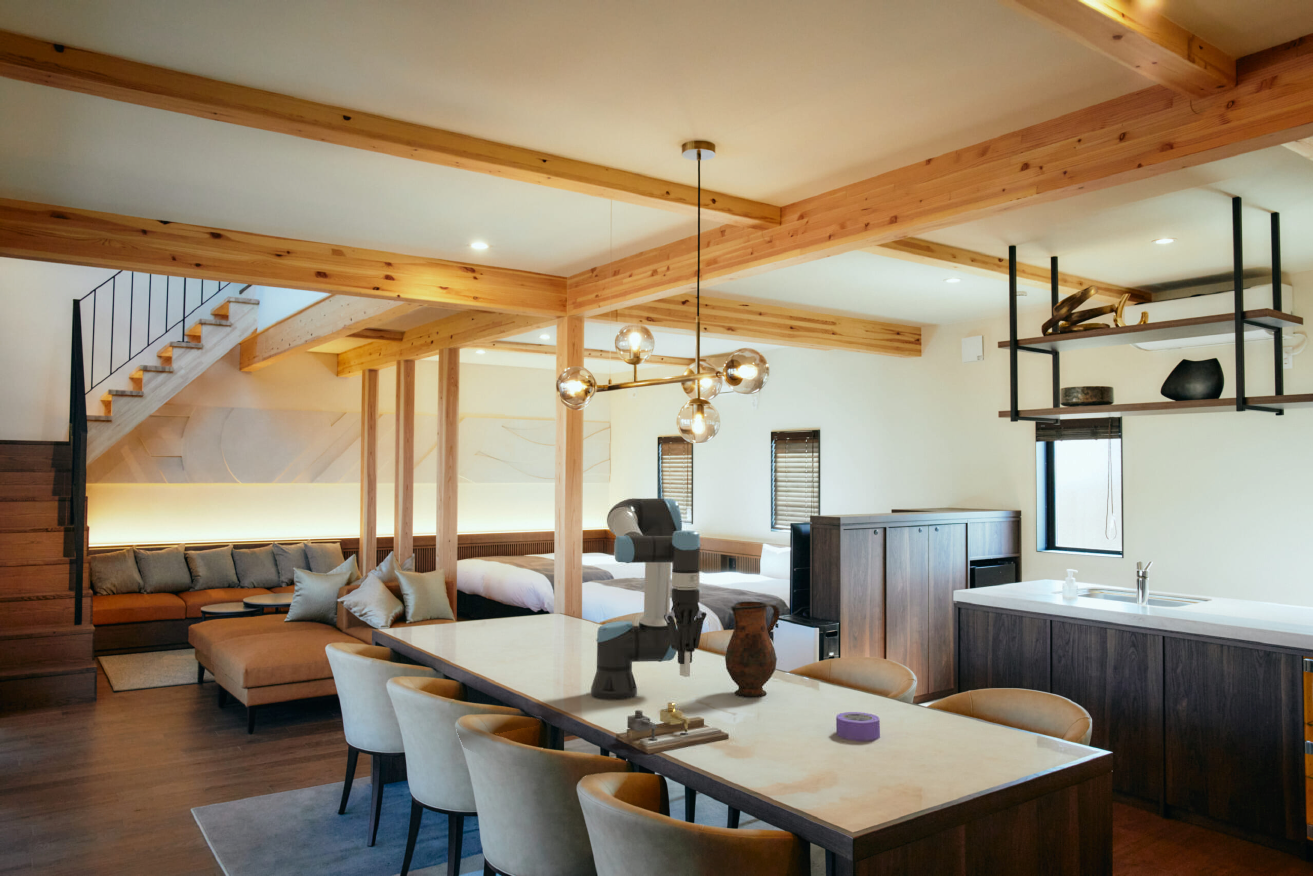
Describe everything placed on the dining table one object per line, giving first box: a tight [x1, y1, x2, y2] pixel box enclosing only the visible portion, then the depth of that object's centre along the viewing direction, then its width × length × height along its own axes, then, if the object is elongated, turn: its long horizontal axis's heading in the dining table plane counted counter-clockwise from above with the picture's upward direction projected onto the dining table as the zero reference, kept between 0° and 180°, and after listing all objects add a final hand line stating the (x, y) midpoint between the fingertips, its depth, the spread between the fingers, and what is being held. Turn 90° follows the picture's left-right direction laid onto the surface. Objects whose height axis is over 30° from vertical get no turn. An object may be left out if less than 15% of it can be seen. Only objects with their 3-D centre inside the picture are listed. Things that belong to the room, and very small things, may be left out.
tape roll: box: [835, 711, 881, 742], centre depth 236 cm, size 12×12×5 cm
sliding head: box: [659, 702, 690, 732], centre depth 231 cm, size 10×4×6 cm, turn 34°
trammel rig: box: [615, 709, 729, 755], centre depth 230 cm, size 16×26×8 cm, turn 124°
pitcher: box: [724, 601, 780, 699], centre depth 283 cm, size 17×21×30 cm
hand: (684, 675), depth 230 cm, fingers closed
